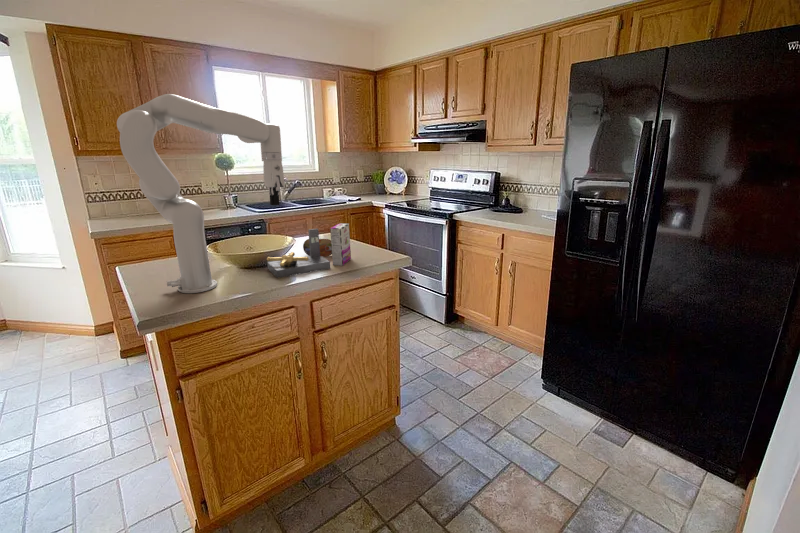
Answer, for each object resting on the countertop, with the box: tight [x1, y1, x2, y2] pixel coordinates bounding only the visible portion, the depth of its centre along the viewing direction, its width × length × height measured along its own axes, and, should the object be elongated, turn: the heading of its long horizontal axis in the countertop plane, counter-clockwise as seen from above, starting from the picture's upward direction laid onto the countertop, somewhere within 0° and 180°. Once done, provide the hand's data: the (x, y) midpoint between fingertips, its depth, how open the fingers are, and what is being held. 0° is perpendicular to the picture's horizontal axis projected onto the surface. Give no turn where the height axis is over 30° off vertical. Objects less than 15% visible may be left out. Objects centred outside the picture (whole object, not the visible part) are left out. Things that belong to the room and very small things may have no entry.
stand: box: [266, 228, 331, 279], centre depth 155 cm, size 22×14×15 cm, turn 123°
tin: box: [302, 238, 332, 258], centre depth 176 cm, size 15×3×8 cm, turn 77°
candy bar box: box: [329, 223, 352, 267], centre depth 164 cm, size 11×5×16 cm, turn 168°
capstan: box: [266, 251, 309, 267], centre depth 151 cm, size 17×17×4 cm
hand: (274, 204), depth 151 cm, fingers closed
